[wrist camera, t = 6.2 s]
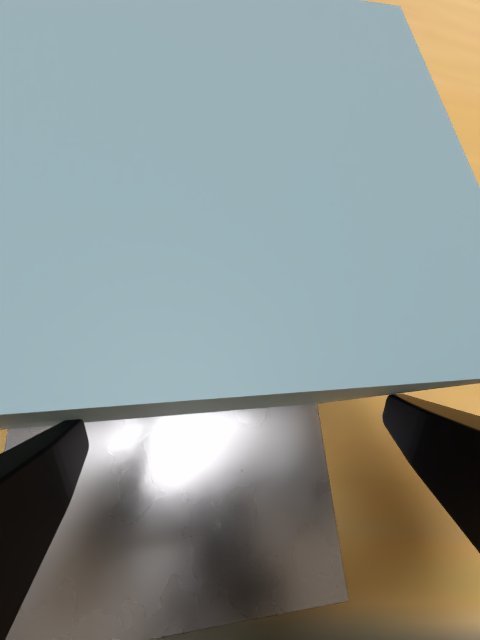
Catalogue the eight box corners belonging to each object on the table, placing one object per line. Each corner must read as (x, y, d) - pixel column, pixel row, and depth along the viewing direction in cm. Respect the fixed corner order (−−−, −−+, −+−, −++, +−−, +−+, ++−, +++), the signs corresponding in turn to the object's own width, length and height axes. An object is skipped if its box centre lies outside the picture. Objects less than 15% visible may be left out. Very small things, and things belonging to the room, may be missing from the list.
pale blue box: (319, 403, 14) (560, 372, 5) (3, 429, 12) (-733, 469, 3) (291, 231, 17) (399, 6, 8) (38, 228, 15) (-230, -84, 6)
